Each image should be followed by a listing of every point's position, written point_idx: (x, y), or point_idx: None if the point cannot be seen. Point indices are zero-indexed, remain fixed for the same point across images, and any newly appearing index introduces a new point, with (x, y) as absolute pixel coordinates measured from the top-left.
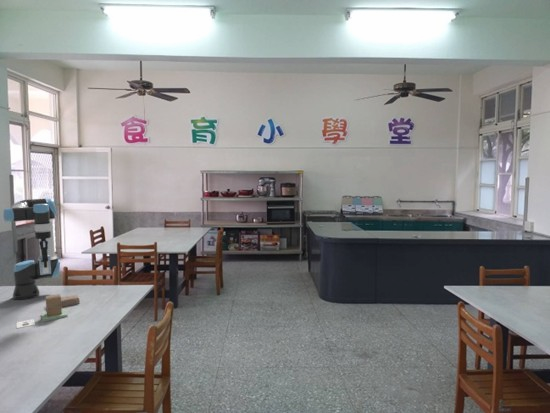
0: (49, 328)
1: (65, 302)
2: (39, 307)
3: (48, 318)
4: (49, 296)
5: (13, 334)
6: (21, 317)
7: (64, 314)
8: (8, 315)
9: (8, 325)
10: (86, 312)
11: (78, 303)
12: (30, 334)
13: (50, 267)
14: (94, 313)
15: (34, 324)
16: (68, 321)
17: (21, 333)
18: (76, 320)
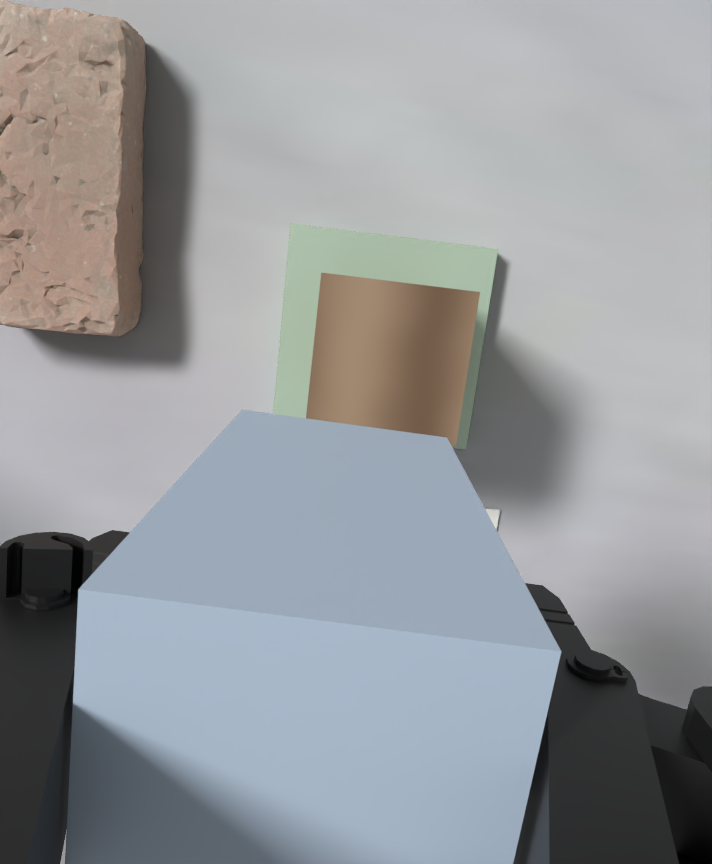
0: (680, 436)
1: (133, 179)
2: (12, 396)
3: (471, 406)
4: (348, 393)
5: None
6: None
7: (475, 270)
8: None
9: None
10: (508, 66)
11: (144, 49)
12: (696, 566)
13: (465, 484)
14: (603, 8)
15: (497, 511)
16: (634, 275)
17: (621, 610)
18: (666, 211)
